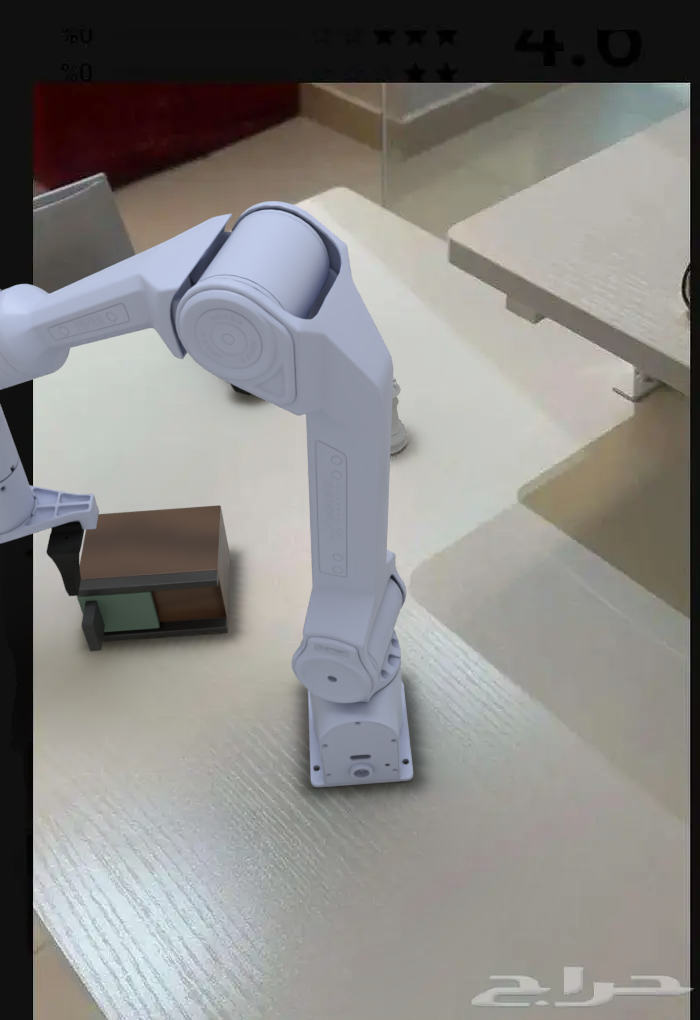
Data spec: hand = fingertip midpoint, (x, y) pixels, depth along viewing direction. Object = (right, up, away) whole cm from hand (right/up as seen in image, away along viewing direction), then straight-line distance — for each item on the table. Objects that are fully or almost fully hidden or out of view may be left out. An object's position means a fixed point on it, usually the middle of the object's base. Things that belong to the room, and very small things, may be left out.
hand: (28, 590), depth 86 cm
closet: (+9, -1, +12) cm, 15 cm away
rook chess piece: (+30, +13, +25) cm, 42 cm away
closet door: (+6, -5, +6) cm, 10 cm away
